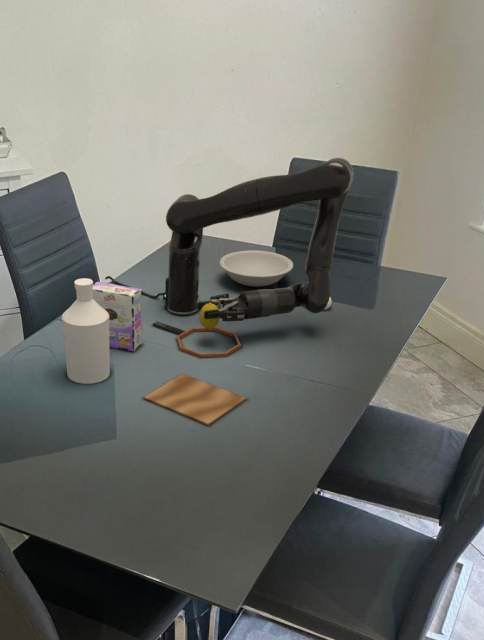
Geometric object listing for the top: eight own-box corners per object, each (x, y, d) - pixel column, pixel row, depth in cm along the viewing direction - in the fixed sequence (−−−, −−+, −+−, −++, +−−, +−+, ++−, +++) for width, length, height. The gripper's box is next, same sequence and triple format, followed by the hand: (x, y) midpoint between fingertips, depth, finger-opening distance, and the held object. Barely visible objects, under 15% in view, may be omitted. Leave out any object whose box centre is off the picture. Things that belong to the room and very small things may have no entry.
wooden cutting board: (143, 399, 186) (143, 396, 186) (182, 375, 196) (182, 373, 195) (208, 425, 176) (208, 423, 176) (245, 399, 186) (245, 397, 185)
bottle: (60, 367, 199) (53, 277, 183) (101, 359, 203) (97, 270, 187) (74, 387, 190) (68, 294, 175) (117, 379, 194) (115, 286, 178)
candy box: (142, 344, 210) (142, 288, 200) (133, 352, 206) (133, 295, 196) (99, 335, 215) (97, 280, 204) (90, 343, 211) (87, 287, 200)
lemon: (217, 335, 205) (219, 307, 200) (197, 333, 206) (198, 306, 201) (219, 326, 210) (221, 299, 205) (200, 325, 210) (201, 298, 205)
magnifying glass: (136, 334, 215) (136, 331, 215) (172, 315, 226) (172, 312, 225) (215, 363, 201) (215, 359, 200) (250, 341, 211) (250, 338, 211)
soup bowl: (241, 264, 259) (242, 245, 255) (303, 279, 248) (306, 259, 244) (204, 285, 244) (205, 265, 240) (269, 302, 233) (271, 282, 229)
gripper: (249, 281, 210) (193, 287, 207) (269, 301, 199) (210, 308, 196) (247, 306, 215) (192, 313, 211) (266, 327, 204) (208, 334, 201)
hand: (201, 310), depth 204 cm, fingers closed on lemon, 5 cm apart
